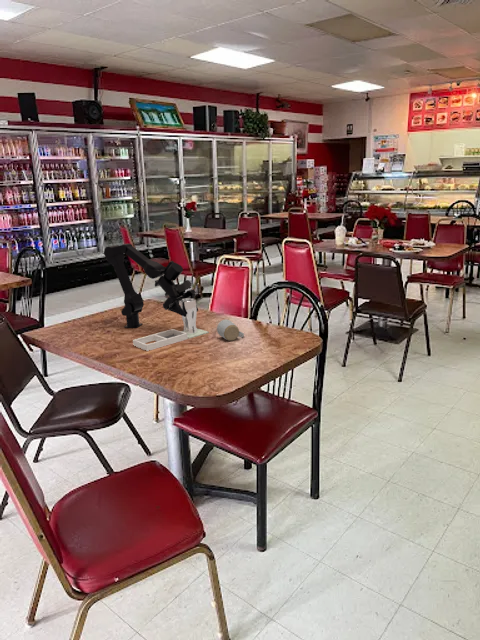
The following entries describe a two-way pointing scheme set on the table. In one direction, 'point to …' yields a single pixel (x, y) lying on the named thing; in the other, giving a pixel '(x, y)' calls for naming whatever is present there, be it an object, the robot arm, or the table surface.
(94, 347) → the table surface
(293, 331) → the table surface
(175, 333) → the white divided tray
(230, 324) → the ceramic mug
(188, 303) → the shiny metal tumbler
